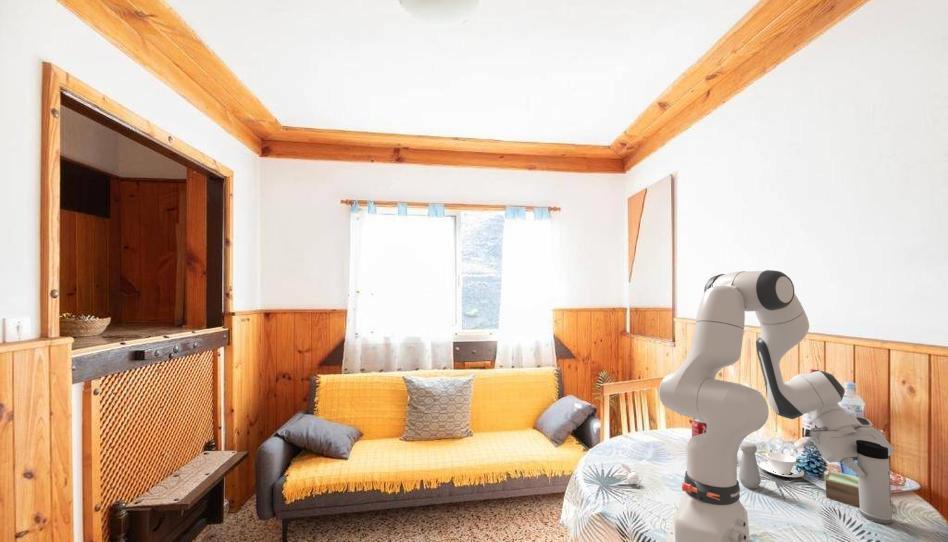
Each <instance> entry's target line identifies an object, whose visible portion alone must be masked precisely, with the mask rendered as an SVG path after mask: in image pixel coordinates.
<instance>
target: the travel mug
mask: <svg viewBox="0 0 948 542" xmlns="http://www.w3.org/2000/svg"><path fill="white" fill-rule="evenodd" d="M856 444H857V454H858V457H857V460H856V462H857V463H856V465H857V466H859V467H860V468H863V469H864V470H865V472H867V474H868V475H867V476H866V477H858V476H857V477H858V485H859V504H860V507H859V514H860V515H861V516H862V518H863V517H864V518H865V519H867V520H868V521H872V522H874V523H878V524H881V525H882V524H884V525H885V524H886V525H890V524H892V523H893V505H892V491H891V490H892V489H891V487H892V486H891V474H890V470H891V468H890V456H888V448H887V447H883V446H881V445H880V444H877V443H873V442H869V441H864V440H857V441H856Z"/></svg>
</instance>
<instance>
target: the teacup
mask: <svg viewBox="0 0 948 542" xmlns="http://www.w3.org/2000/svg"><path fill="white" fill-rule="evenodd" d="M760 455H761V458H762V460H763V461H761V462H760V463H759V467H760V468H761V469H762V470H764V471H766V472H768V473H770V474H774V475H777V476H782V477H787V478H801V477H803V476H804V475H805V472H804V471H803V470H802V471H801V472H800V473H798V474H792V475H788V474H790V472H791V470H792V468H793V466H795V464H796V462H797V459H796V458H795V457H794V456H792V455H789V454H786V453H782V452H775V451H769V452H766V453H765V452H764V453H763V452H762V453H760ZM764 456H765V457H766V458H767V461H766V459H765V457H764ZM773 471H774V472H773ZM775 472H776V473H775ZM782 474H784V475H782Z"/></svg>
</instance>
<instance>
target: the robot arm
mask: <svg viewBox="0 0 948 542" xmlns="http://www.w3.org/2000/svg"><path fill="white" fill-rule="evenodd" d="M791 279H792V278H790V276H788V275H787V274H785V273H784V272H782V271H779V270H769V269H766V270H763V271H759V270H756V271H755V270H753V271H746V270H745V271H736V272H730V273H729V272H728V273H726V274H724V273H721V274H717V275H714V276H712V277H710V278H709V279H708V280H707V282H706V284H705V286H704V290H703V295H702V298H701V301H700V303H699V306H698V310H697V314H696V319H695V324H694V325H695V327H694V331H693V337H692V342H691V345H690V350H689V352H688V354H687V356H686V358H685V359H684V360H683V362H682V363H681V365H680V366H679V367H677V369H675V370H674V371H672V372H670V373H669V374H667V375H665V376H664V377H663V378H662V379H661V381H660V383H659V386H658V396H659V401H660V402H661V404H662V406H664V407H665V408H667V409H668V410H670V411H672V412H674V413H676V414H678V415H680V416H683V417H687V418H691V419H698V420H701V421H704V422H706V424H707V430H706V433H703V434H699V435H696V436H694V437H692V436H691V437H690V438H689V440H688V441H687V443H686V446H685V448H686V449H685V453H686V471H685V475H684V477H683V478H684V480H683V482H682V483H681V484H682V485H681V490H682V492H681V496H680V499H679V503H678V505H677V506H678V507H677V509H676V514H674V515H673V517H672V521H671V523H670V526H669V528H668V531H667V533H666V536H665V539H664V542H754V541H753V540H752V539H751V537H750V527H749V515H748V511H747V509H746V507H745V506H743V504H742V502H741V501H740V497H741V495H740V494H741V487H740V482H739V480H738V454H739V453H738V452H739V449H740V446H741V443H743V441H744V439H746V438H747V437H748V436H749V435H751V434H753V433H754V432H758V430H760V429H762V428H763V427H764V426H765V425H766V423H767V421H768V418H769V415H770V414H769V412H770V411H769V409H770V408H769V406H770V407H771V409H772V410H773V412H775V414H776V415H777V416H780V417H782V418H785V419H789V420H795V419H797V418H799V417H802V416H804V415H806V414H808V415H809V416H810V417H811V421H812V423H813V424H814V425H815V427H812V428H811V429H810V431H809V435H810V437H811V438H812V440H813V443H814V445H815V447H816V448H817V450H818V452H819V453H820V455H821V457H823V459H824V460H825V461H826V462H828V463H838V462H839V463H841V462H842V463H843V464H844V466H845V467H847V468H848V469H850V470H851V471H853V472H854V473H855V475H856V477H866V476H867V475H868V474H867V472H865V470H864V469H863V468H860V467H859V466H857V463H855V462H856V461H857V457H858V454H857V444H856V441H857V440H864V441H869V442H873V443H877V444H880V445H881V446H883V447H887V448H888V456H889V457H890V456H892V455H893V454H894V453H895V451H894V447H893V446H892V445H891V443H890V442H889V441H888V440H887V438H885V436H884V435H883V434H882V433H881V432H880V431H879V430H877V429H876V428H874V427H873V426H874V425H873V422H871V420H870V419H868V418H865V417H861V416H857V415H854V414H851V413H848V412H847V411H846V409H844V408H843V407H842V406H841V405H840V404H839V403H841V402H842V401H843V399H844V397H845V393H846V390H845V388H844V386H842V384H841V383H840V382H839V380H837V378H836V377H835V376H834V375H833V374H831V373H829V372H826V371H823V370H817V371H812V372H802V373H798V374H796V375H794V376H792V378H790V380H788V381H787V380H786V381H784V379H783V374H782V371H781V367H780V364H781V361H782V359H783V357H784V356H785V355H786V354H787V353H788V352H789V351H791V349H793V348H794V347H795V346H797V345H798V344H800V343H801V342H802V341H803V340H804V339H805V337H806V336H807V334H808V332H809V329H810V322H809V318H808V315H807V314H806V312H805V309H804V307H803V306H802V304H801V302H800V300H799V298H798V297H797V295H796V293H795V286H794V284H793V283H794V282H793V281H792V280H791ZM745 312H754V313H755V315H756V317H757V319H758V321H759V324H760V332H759V333H760V334H759V337H758V338H757V339H756V341H755V347H756V353H757V354H756V355H757V356H758V357H757V358H758V362H759V365H760V369H761V374H762V377H763V382H764V384H765V393H766V397H767V400H766V398H765V397H764V395H763V394H762V393H761V392H760V390H757V389H755V388H752V387H750V386H746V385H744V384H740V383H737V382H732V381H725V380H721V379H717V378H716V376H717V375H718V373H719V371H721V370H722V369H724V368H726V367H729V366H732V365H734V364H736V363H737V362H738V361H739V360H740V358H741V355H742V347H743V340H744V331H745V319H746V314H745ZM767 401H768V402H767ZM768 404H769V405H768ZM891 474H893V471H892V470H891V469H890V475H891Z"/></svg>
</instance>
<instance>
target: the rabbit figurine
mask: <svg viewBox="0 0 948 542" xmlns="http://www.w3.org/2000/svg"><path fill="white" fill-rule="evenodd" d="M620 463H621V466H622V468H623V469H624V471H626V472H627V473H615V474H613V477H614V478H616V479H625V478H626V480H625V481H624V484H626V483H628V484H629V485H634V484H635V486H636V487H637V488H639V486H641V482H642V478H641V477H639V475H638V474H637V473H636V472H634V471H632V470H631V468H630V466H628V464H627V463H626V462H624V461H623V460H620Z"/></svg>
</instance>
